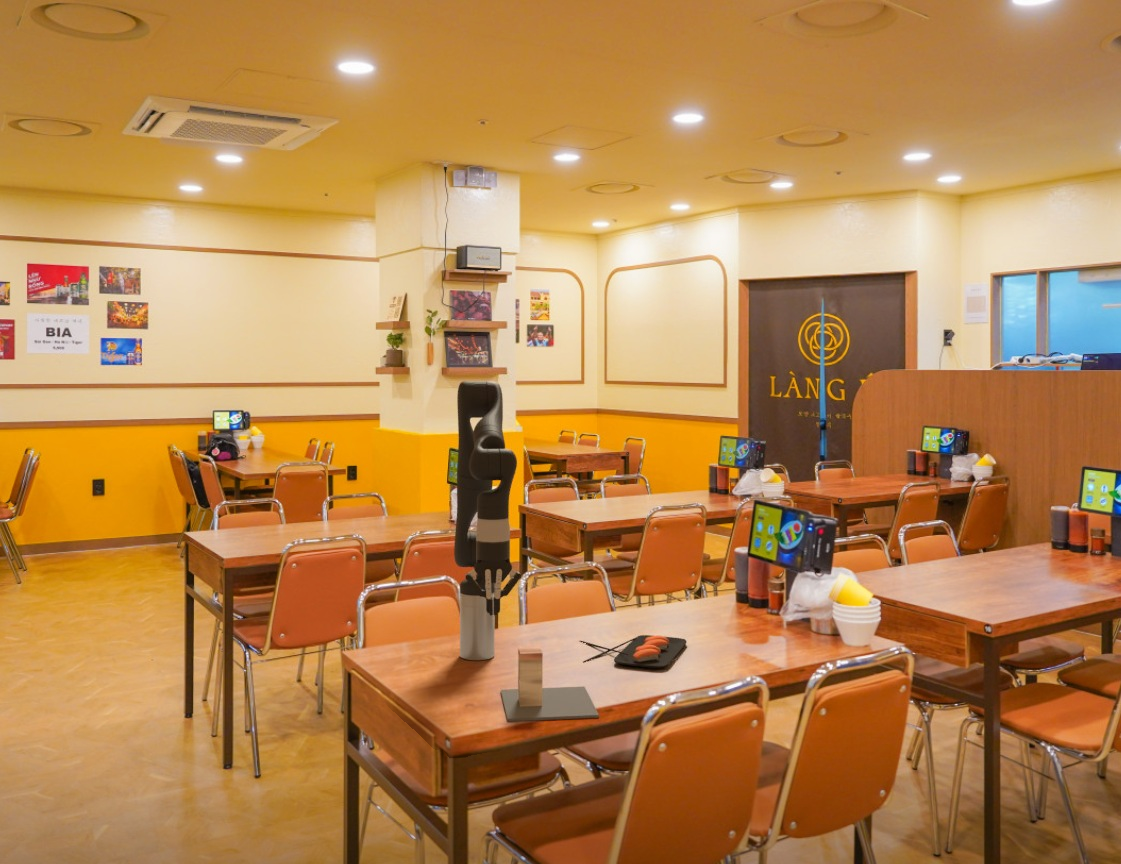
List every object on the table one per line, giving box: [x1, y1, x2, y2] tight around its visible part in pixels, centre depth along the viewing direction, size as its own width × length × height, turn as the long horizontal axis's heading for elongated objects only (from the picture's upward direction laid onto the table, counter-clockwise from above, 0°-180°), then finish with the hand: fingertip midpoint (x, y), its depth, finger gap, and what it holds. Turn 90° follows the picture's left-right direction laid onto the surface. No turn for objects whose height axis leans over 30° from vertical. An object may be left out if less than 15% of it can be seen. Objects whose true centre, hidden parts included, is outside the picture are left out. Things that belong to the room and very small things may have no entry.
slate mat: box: [500, 686, 600, 722], centre depth 222 cm, size 20×20×1 cm
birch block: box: [517, 646, 543, 707], centre depth 221 cm, size 5×5×12 cm
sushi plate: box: [580, 634, 687, 669], centre depth 265 cm, size 29×30×4 cm
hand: (492, 614), depth 219 cm, fingers closed
